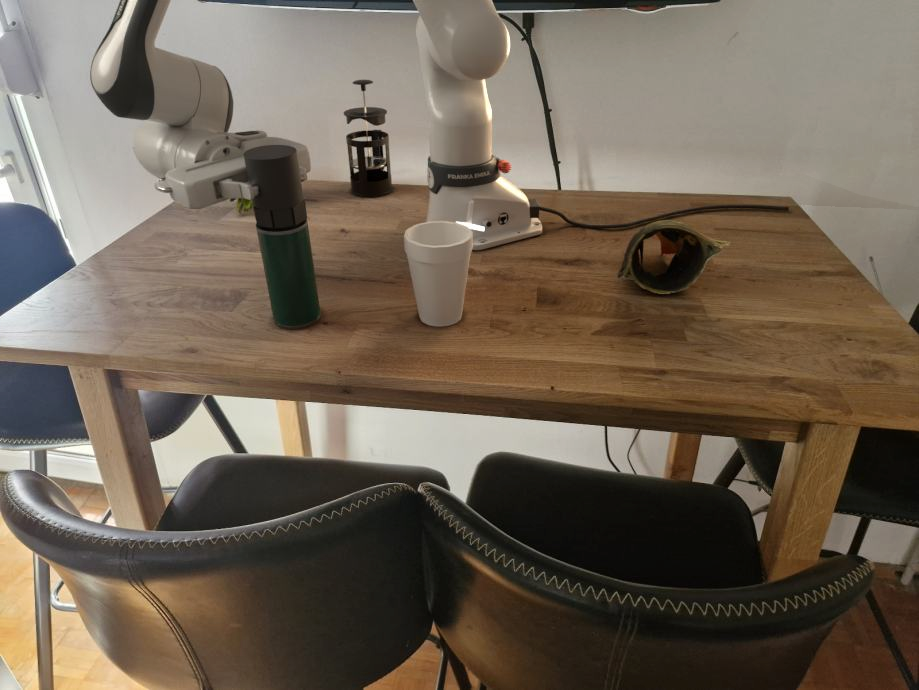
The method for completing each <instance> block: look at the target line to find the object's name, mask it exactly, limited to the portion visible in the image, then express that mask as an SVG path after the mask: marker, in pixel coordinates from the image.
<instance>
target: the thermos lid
mask: <svg viewBox="0 0 919 690" xmlns="http://www.w3.org/2000/svg"><path fill="white" fill-rule="evenodd" d="M244 160H245V165H246V171H247V176H248V181H250V182H253V183H257V184H258V186H259V192H260V196H259V197H256V198H254V199H252V203H253V208H254V209H253V213H254V214H253V215H254V219H255V224H256V223H257V225H258V226H263V227H268V228H282V227H290V226H294V225H297V224H299V223H301V222H302V221H304V220H306V219H307V220H308V214H307V207H306V206H307V205H306V201H305V198H304V191H303V183H302V182H301V177H300V170H299V163H298V156H297V150H296V148H294V147H292V146H287V145H266V146H260V147H255V148H252V149H249V150H247V151H245V152H244Z"/></svg>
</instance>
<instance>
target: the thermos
mask: <svg viewBox="0 0 919 690" xmlns="http://www.w3.org/2000/svg"><path fill="white" fill-rule="evenodd" d="M255 230H256V234H257V239H258V245H259V249H260V255H261V260H262V266H263V271H264V276H265V281H266V287H267V293H268V297H269V298H268V299H269V302H270V308H271V313H272V319H273V323H274V325H275V326H276V327H278V328H280V329H282V330H287V331H297V330H303V329H306V328H310V327H313V326H314V325H316V324H317V323H318V322H319V321H320V320H321V318H322V311H321V307H320V299H319V292H318V285H317V279H316V278H317V277H316V272H315V266H314V265H315V264H314V258H313V257H314V256H313V251H312V244H311V238H310V237H311V235H310V229H309V222H308V218H307V219H306V220H304V221H302V222H301V223H299V224H297V225H294V226H290V227H282V228H268V227H263V226H258V225H257V223H256V222H255Z"/></svg>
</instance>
